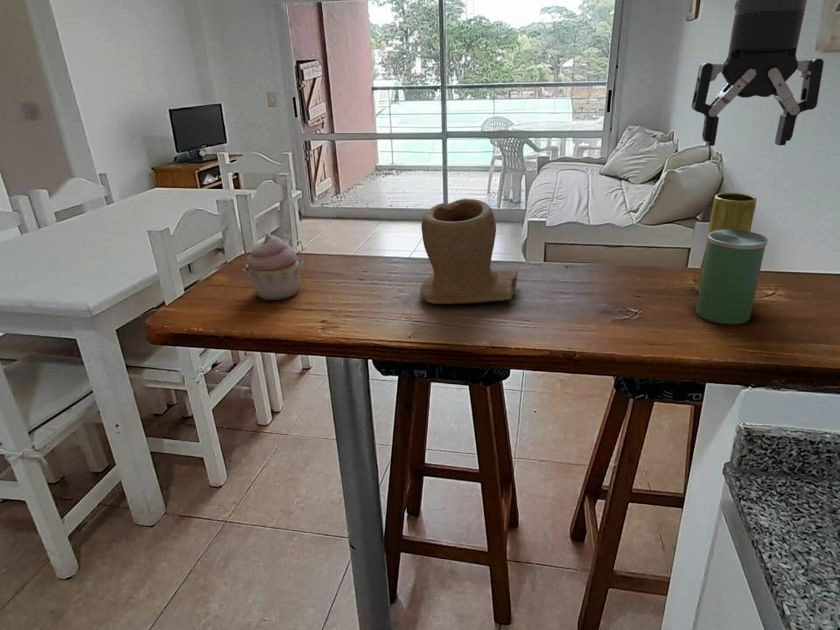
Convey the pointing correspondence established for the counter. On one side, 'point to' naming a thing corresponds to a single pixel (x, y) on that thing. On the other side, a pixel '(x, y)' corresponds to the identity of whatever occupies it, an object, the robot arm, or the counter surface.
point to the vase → (729, 217)
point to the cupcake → (274, 269)
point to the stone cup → (463, 255)
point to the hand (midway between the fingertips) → (744, 144)
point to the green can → (730, 276)
